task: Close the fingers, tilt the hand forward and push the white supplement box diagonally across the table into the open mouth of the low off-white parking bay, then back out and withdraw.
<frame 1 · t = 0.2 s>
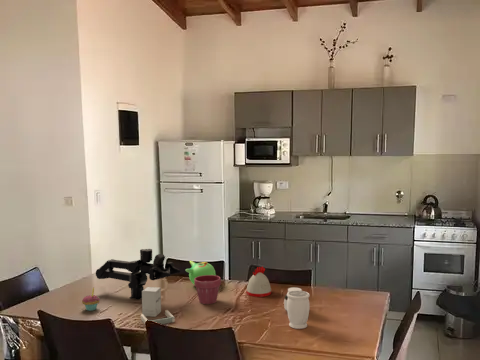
hand: (175, 273, 245), 17 cm above the table, tool horizontal, fingers open, 9 cm apart
chicken egg cooker: (258, 293, 263), on the table
cupcake: (91, 309, 239), on the table
supplement box: (151, 314, 231), on the table
bay: (156, 319, 223), on the table
plant pot: (207, 301, 249), on the table
toy bird: (201, 286, 278), on the table
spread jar: (294, 311, 233), on the table
jar: (298, 326, 213), on the table
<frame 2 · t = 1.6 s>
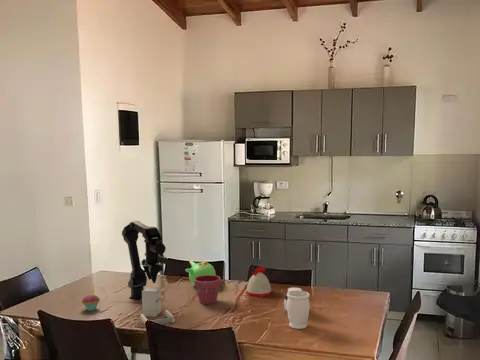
hand: (152, 281, 242), 13 cm above the table, tool pointing down, fingers open, 8 cm apart
nothing on the table moved.
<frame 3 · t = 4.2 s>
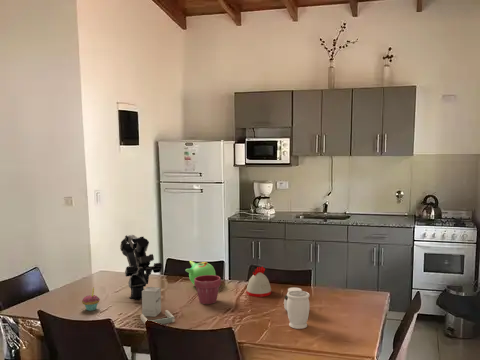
hand: (147, 283, 237), 13 cm above the table, tool tilted 45°, fingers closed
nothing on the table moved.
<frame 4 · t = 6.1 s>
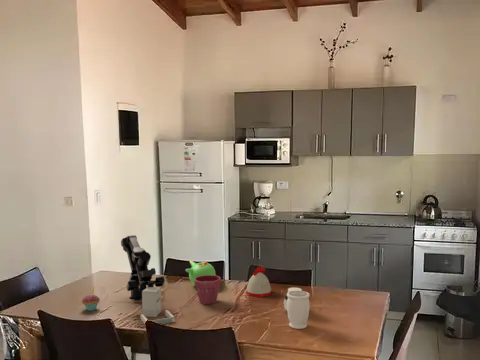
hand: (149, 298, 234), 7 cm above the table, tool tilted 45°, fingers closed
supplement box: (151, 314, 230), on the table, touching gripper
everything else where it was.
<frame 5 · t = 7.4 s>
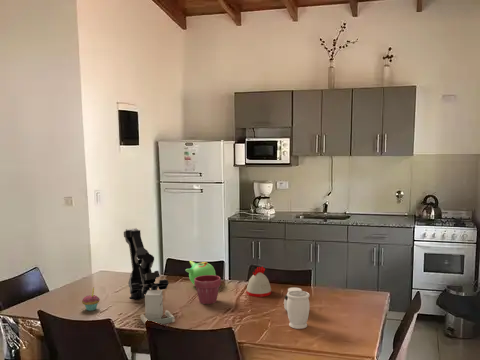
hand: (152, 301, 228), 7 cm above the table, tool tilted 45°, fingers closed
supplement box: (154, 317, 225), on the table, touching gripper
everything else where it was.
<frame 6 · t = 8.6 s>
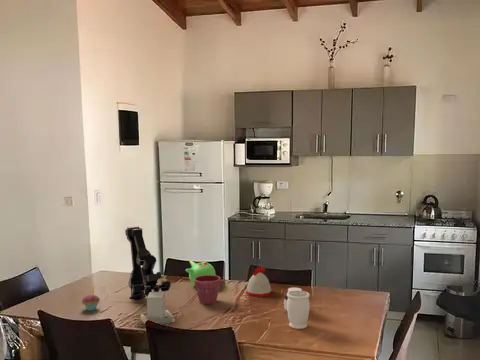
hand: (154, 303, 225), 7 cm above the table, tool tilted 45°, fingers closed
supplement box: (156, 319, 222), on the table, touching bay, gripper
everything else where it was.
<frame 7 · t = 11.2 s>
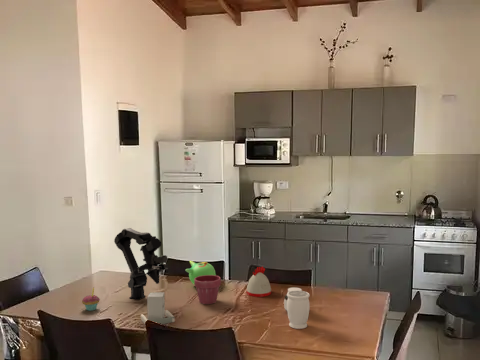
hand: (158, 283, 240), 12 cm above the table, tool tilted 30°, fingers closed
supplement box: (156, 320, 222), on the table
everything else where it was.
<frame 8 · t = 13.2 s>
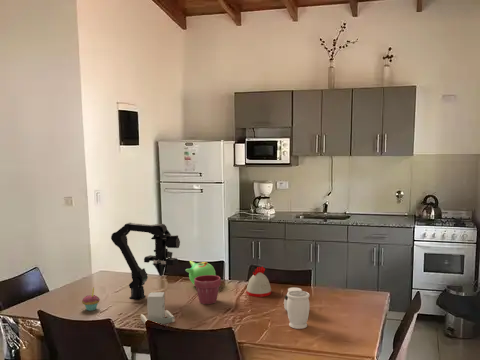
hand: (161, 275, 253), 13 cm above the table, tool pointing down, fingers closed
nothing on the table moved.
at the end: supplement box 0.7 cm from the bay (horizontally); supplement box tilted 0°; supplement box moved 9.5 cm from its start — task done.
